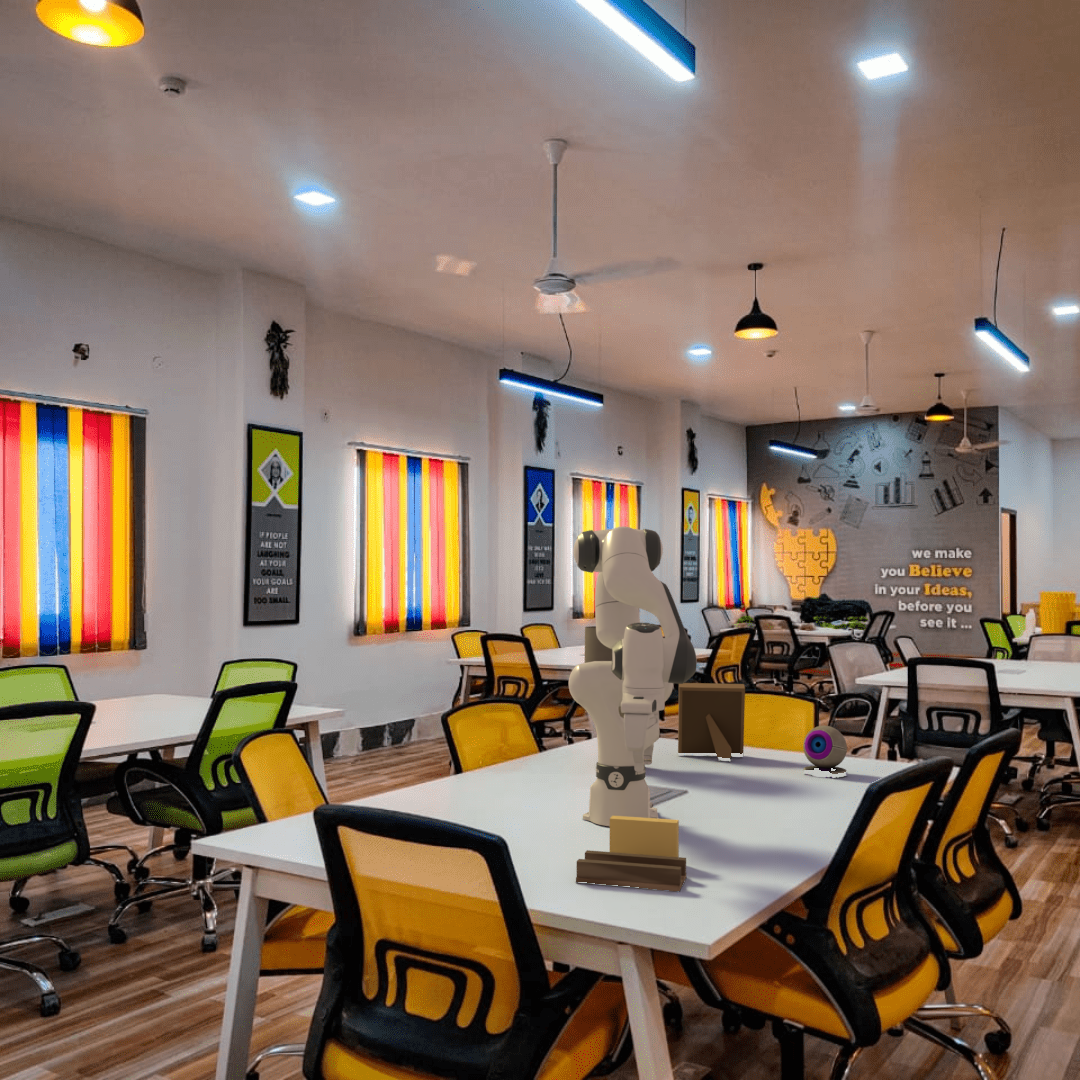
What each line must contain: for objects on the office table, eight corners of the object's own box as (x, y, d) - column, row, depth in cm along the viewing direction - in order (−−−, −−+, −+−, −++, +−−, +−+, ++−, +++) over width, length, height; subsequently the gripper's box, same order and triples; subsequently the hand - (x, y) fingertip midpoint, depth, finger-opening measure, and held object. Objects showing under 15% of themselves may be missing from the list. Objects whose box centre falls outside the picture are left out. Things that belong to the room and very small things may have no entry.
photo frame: (677, 754, 360) (678, 681, 361) (742, 755, 358) (742, 682, 358) (679, 761, 345) (679, 685, 346) (746, 763, 343) (746, 687, 344)
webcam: (796, 774, 322) (796, 725, 322) (815, 769, 331) (814, 722, 332) (836, 780, 313) (835, 729, 314) (854, 774, 323) (853, 725, 324)
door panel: (612, 858, 221) (612, 815, 221) (678, 863, 217) (678, 819, 217) (609, 862, 218) (609, 818, 218) (676, 867, 214) (676, 823, 214)
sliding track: (587, 869, 211) (587, 849, 211) (686, 877, 206) (686, 857, 206) (575, 883, 202) (575, 862, 202) (679, 891, 196) (679, 870, 197)
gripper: (637, 696, 230) (637, 759, 229) (619, 705, 210) (618, 774, 209) (666, 696, 228) (666, 761, 227) (650, 706, 208) (650, 776, 208)
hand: (643, 767), depth 218 cm, fingers open, 8 cm apart
